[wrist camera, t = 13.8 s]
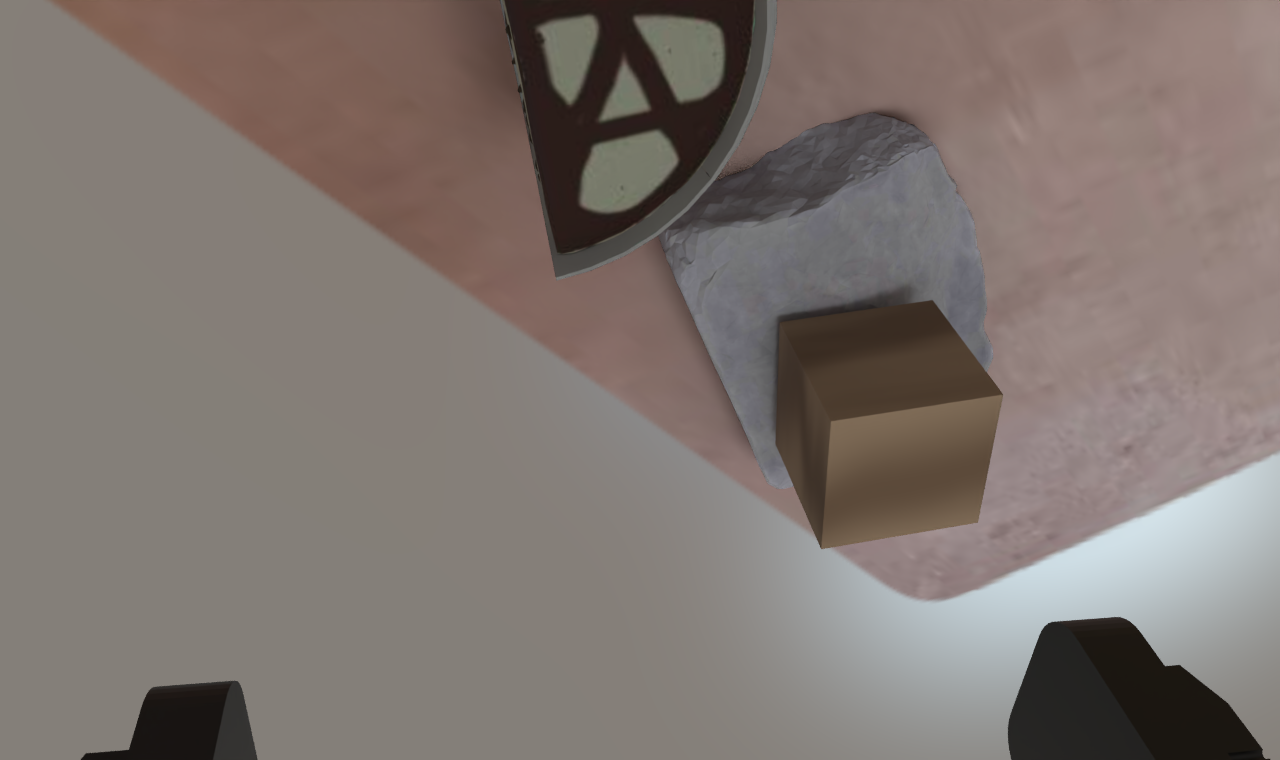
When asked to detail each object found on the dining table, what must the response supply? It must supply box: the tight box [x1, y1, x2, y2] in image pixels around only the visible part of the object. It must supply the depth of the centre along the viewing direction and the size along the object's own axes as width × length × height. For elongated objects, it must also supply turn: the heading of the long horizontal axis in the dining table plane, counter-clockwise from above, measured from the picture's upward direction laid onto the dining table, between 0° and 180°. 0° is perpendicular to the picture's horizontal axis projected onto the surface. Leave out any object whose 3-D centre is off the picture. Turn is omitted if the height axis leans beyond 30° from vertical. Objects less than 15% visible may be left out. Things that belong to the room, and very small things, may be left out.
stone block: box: [658, 113, 993, 489], centre depth 37 cm, size 12×5×10 cm
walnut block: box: [775, 300, 1003, 549], centre depth 33 cm, size 5×5×5 cm
